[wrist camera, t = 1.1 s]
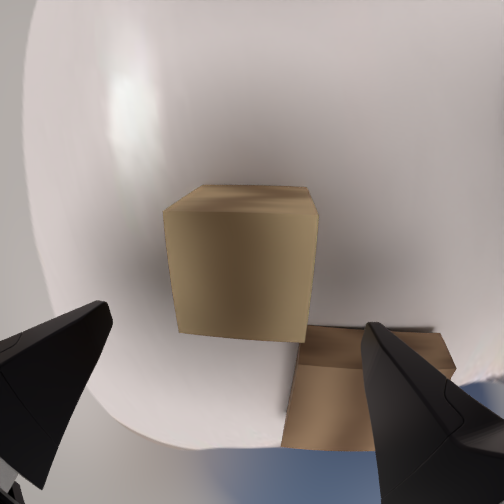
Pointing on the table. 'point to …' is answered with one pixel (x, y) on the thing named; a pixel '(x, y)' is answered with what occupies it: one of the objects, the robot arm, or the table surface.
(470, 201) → the table surface
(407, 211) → the table surface
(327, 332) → the tan flat square block
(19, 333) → the robot arm
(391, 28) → the table surface
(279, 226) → the oak cube
